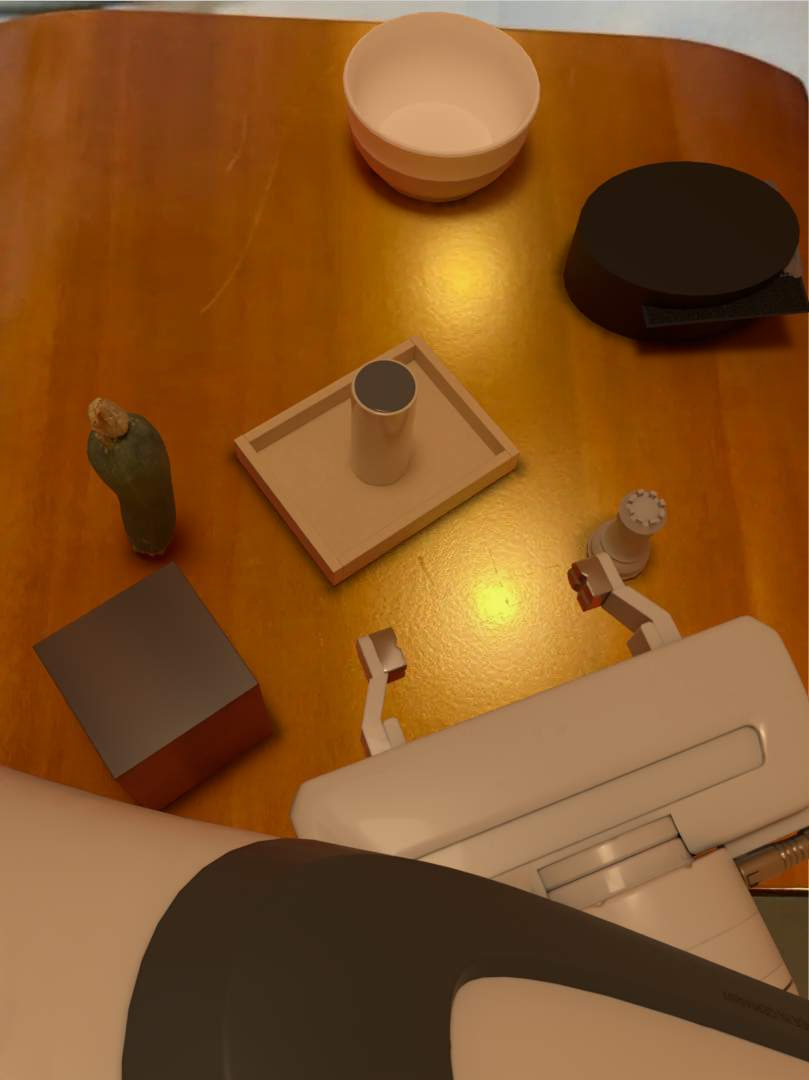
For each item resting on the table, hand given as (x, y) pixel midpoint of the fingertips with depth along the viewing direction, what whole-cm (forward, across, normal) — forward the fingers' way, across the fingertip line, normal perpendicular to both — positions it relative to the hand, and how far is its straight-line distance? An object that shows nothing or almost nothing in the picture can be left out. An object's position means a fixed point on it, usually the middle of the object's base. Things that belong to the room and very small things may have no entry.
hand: (481, 598), depth 40 cm
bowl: (+48, -20, +28) cm, 59 cm away
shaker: (+21, -5, +27) cm, 35 cm away
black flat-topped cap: (+29, -33, +28) cm, 52 cm away
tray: (+21, -4, +28) cm, 35 cm away
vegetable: (+20, +12, +28) cm, 37 cm away
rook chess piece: (+8, -18, +28) cm, 35 cm away
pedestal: (+8, +15, +28) cm, 32 cm away
